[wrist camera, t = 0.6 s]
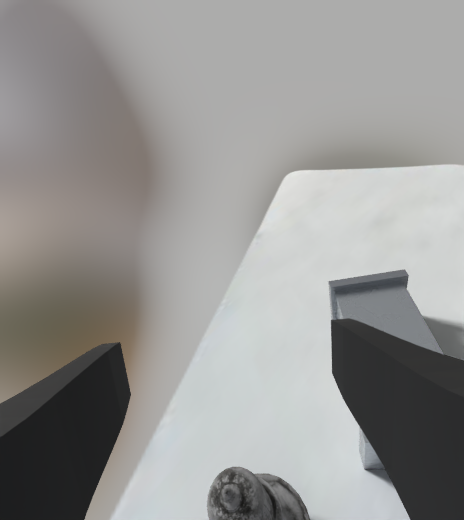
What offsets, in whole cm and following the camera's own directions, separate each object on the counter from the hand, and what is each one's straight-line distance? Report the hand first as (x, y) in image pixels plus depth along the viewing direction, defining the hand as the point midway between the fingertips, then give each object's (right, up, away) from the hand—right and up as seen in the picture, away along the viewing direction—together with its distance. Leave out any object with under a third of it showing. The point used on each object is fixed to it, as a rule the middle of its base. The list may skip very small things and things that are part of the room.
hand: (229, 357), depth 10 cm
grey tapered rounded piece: (+3, -16, +10) cm, 19 cm away
